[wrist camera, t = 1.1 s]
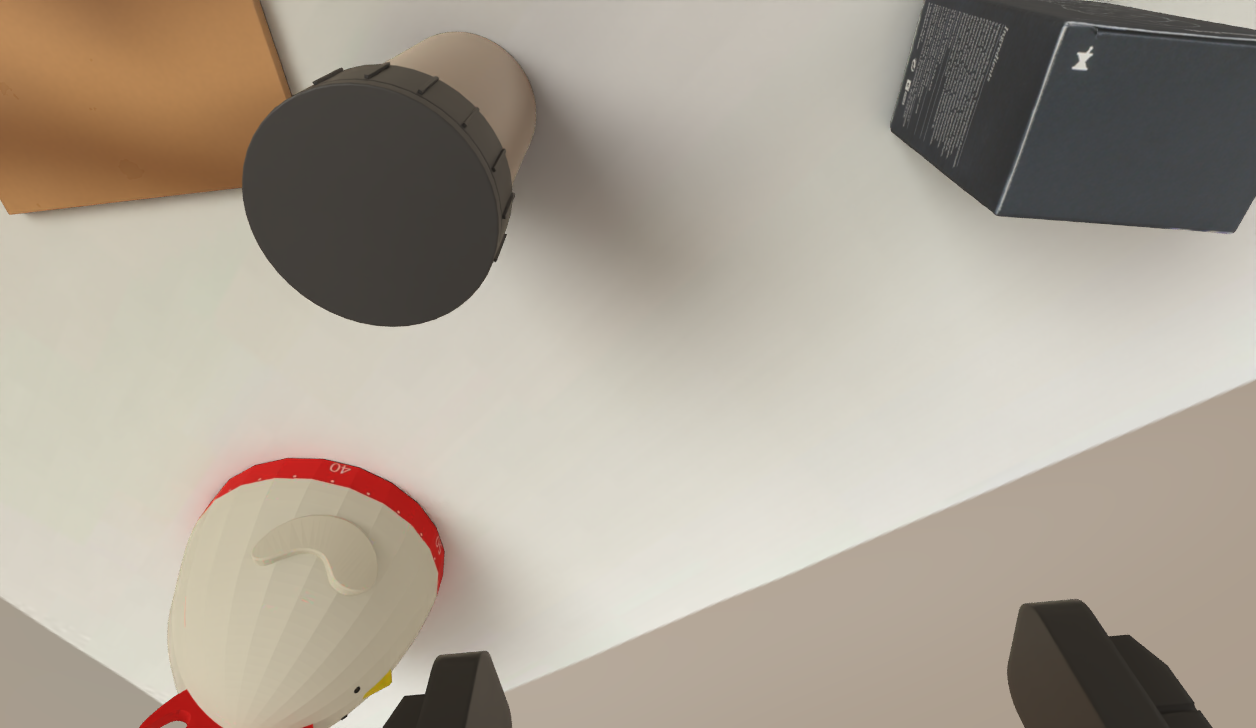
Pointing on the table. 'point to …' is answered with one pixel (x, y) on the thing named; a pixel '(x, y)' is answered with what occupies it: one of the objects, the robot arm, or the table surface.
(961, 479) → the table surface
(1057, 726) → the robot arm
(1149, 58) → the box
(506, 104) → the jar
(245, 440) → the table surface
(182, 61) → the wooden flat board
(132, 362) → the table surface
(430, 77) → the lid
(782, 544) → the table surface
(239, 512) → the kitchen timer
